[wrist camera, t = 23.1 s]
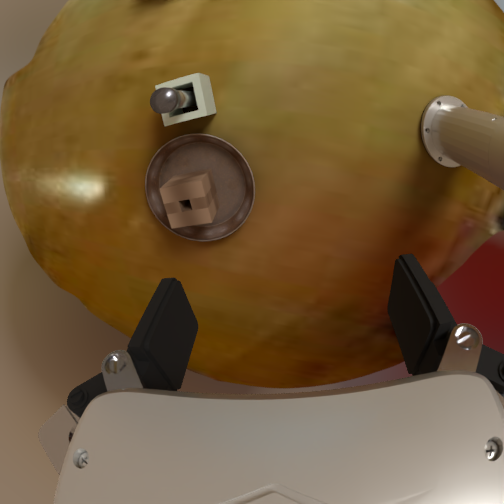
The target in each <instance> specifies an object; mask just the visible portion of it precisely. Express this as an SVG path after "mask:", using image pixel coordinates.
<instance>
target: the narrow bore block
mask: <svg viewBox="0 0 504 504" xmlns="http://www.w3.org/2000/svg"><path fill="white" fill-rule="evenodd" d="M160 193H161V196H162V199H163V203H164V206H165V209H166V212H167V216H168V219H169V222H170V225H171V228H179V227H186V226H192V225H199V224H206V223H212V222H213V219H214V217H215V215H216V213H217V211H218V208H219V206H220V204H219V200H218V196H217V191H216V187H215V183H214V178H213V174H212V169H206V170H201V171H195V172H190V173H186V174H181V175H176V176H173V177H172V178H171V179H170V180H169V181H168V182H167V183H165V184H164V185H163V186H162V187H161V188H160Z"/></svg>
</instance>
